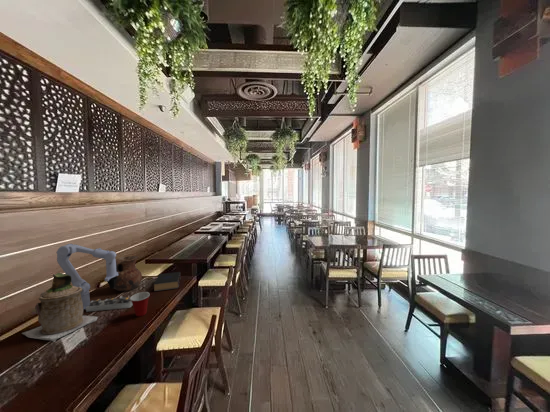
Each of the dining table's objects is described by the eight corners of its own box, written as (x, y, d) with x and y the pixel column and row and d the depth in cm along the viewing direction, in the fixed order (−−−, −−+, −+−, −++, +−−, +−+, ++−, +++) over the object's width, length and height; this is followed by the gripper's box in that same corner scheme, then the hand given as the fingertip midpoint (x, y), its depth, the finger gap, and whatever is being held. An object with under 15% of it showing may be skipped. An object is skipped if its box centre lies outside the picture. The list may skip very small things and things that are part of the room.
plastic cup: (128, 320, 143) (127, 300, 143) (134, 311, 154) (133, 293, 153) (148, 317, 146) (147, 297, 145) (152, 309, 156) (151, 291, 156)
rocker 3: (118, 301, 159) (119, 298, 159) (120, 299, 162) (121, 295, 162) (126, 302, 160) (127, 299, 160) (128, 300, 163) (129, 297, 163)
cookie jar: (99, 319, 145) (96, 267, 144) (52, 343, 121) (48, 281, 120) (70, 315, 152) (66, 265, 150) (19, 337, 128) (15, 278, 127)
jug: (117, 285, 202) (115, 256, 202) (144, 282, 209) (143, 253, 208) (107, 295, 181) (105, 262, 180) (138, 291, 188) (137, 259, 187)
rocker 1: (90, 305, 156) (89, 302, 156) (93, 303, 159) (92, 300, 159) (98, 303, 157) (97, 300, 157) (101, 301, 160) (100, 297, 160)
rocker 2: (104, 304, 158) (104, 300, 157) (107, 301, 161) (106, 298, 161) (112, 302, 158) (112, 298, 158) (115, 300, 162) (114, 296, 162)
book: (180, 279, 215) (180, 271, 215) (178, 289, 191) (177, 280, 191) (159, 281, 210) (159, 274, 210) (154, 292, 186) (153, 283, 186)
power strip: (86, 312, 155) (85, 304, 155) (93, 306, 163) (92, 299, 163) (130, 307, 160) (129, 300, 159) (134, 302, 167) (134, 295, 167)
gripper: (112, 271, 160) (113, 291, 161) (122, 265, 175) (123, 284, 175) (100, 272, 159) (102, 292, 160) (111, 266, 173) (112, 284, 174)
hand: (112, 288), depth 167 cm, fingers closed
